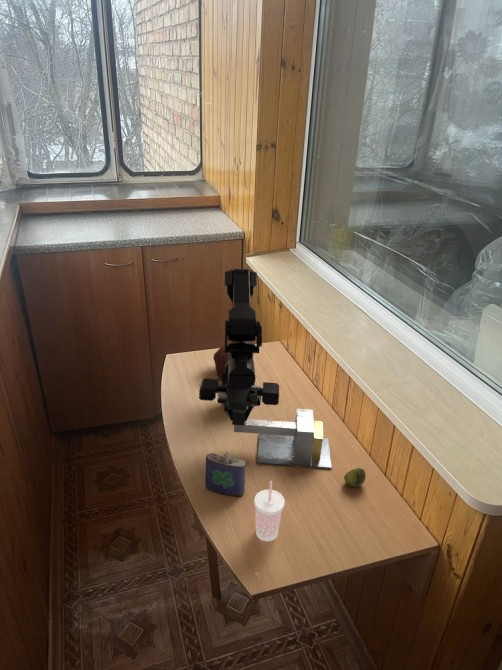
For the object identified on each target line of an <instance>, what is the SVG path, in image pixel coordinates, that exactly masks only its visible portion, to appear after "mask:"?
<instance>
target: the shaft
mask: <svg viewBox="0 0 502 670" xmlns="http://www.w3.org/2000/svg"><path fill="white" fill-rule="evenodd" d="M231 425H232V426H233V433H244V434H258V435H259V434H269V435H283V436H296V431H297V423H296V422H295V421H294V422H293V421H280V420H277V421H276V420H264V419H253V418H252V419H250V418H248V419H247V421H246V422H245V411H241V410H233V411H232V421H231Z"/></svg>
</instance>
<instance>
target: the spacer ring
mask: <svg viewBox="0 0 502 670" xmlns="http://www.w3.org/2000/svg"><path fill="white" fill-rule="evenodd" d="M323 424H324V423H323V421H320V420H314V432H315V433H314V440H313V448H312V460H317V461H320V456H321V449H322V441H323V438H324V427H323V426H324V425H323Z"/></svg>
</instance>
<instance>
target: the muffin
mask: <svg viewBox="0 0 502 670" xmlns="http://www.w3.org/2000/svg"><path fill="white" fill-rule="evenodd" d="M229 344H230V343H227V345H229ZM228 360H229V353H225V344H224V345H222V346H221V347H220V348H218V349H217V351H216V352H215V353H213V361H214V367H215V371H216V376H217V377H218V378H217V379H218V381H222V380H223V371H224V372H225V365H226V363H227V361H228Z"/></svg>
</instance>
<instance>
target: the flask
mask: <svg viewBox="0 0 502 670" xmlns="http://www.w3.org/2000/svg"><path fill="white" fill-rule="evenodd" d="M230 455H231V454H230V453H229V452H228V451H227V452H225V453H222V455H220V454H217V453H215V452H210V453H207V454H206V457H205V479H204V480H205V481H204V482H205V489H206V490H208V491H209V492H212V493H214V494H217V495H224V496H229V497H235V498H239V497H240V498H241V497H242V496H244V494H245V489H246V488H245V486H246V485H245V483H246V466H247V465H246V462H245V460H243V459H237V458H231V457H229V456H230Z"/></svg>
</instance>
